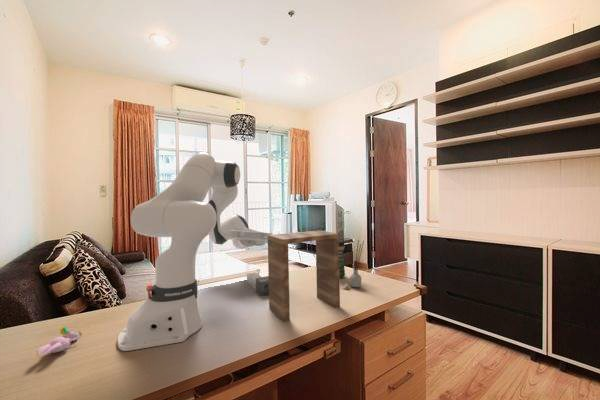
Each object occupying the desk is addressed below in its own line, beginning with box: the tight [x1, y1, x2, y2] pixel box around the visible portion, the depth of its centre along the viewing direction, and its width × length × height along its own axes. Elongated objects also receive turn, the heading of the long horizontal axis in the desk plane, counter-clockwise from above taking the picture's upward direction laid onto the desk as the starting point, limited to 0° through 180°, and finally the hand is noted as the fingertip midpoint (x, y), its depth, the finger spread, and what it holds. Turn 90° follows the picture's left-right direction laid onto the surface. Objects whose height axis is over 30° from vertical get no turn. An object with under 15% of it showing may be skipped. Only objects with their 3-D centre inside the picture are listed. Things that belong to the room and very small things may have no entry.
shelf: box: [267, 229, 341, 322], centre depth 101 cm, size 22×12×26 cm, turn 119°
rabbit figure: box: [36, 325, 83, 357], centre depth 76 cm, size 6×6×15 cm
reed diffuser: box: [343, 239, 365, 289], centre depth 121 cm, size 10×7×20 cm
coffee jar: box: [339, 237, 346, 279], centre depth 138 cm, size 10×8×19 cm
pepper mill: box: [246, 272, 269, 297], centre depth 123 cm, size 6×21×6 cm, turn 29°
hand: (255, 233), depth 127 cm, fingers open, 8 cm apart
